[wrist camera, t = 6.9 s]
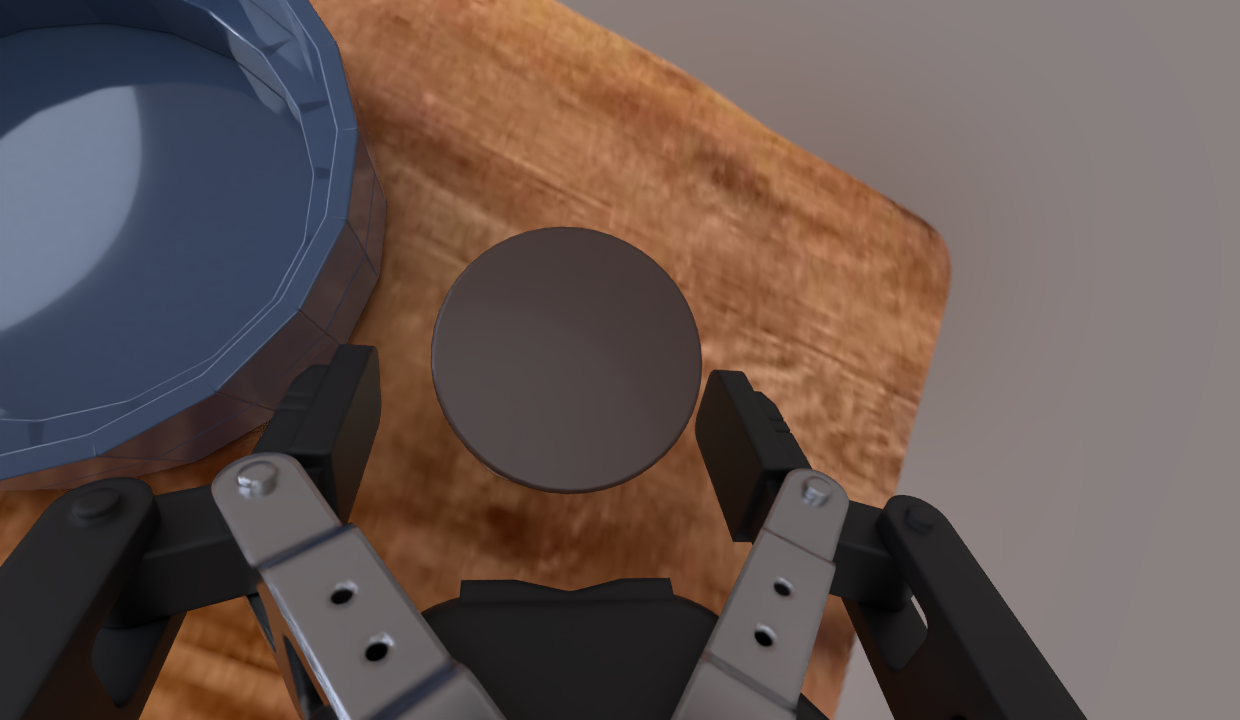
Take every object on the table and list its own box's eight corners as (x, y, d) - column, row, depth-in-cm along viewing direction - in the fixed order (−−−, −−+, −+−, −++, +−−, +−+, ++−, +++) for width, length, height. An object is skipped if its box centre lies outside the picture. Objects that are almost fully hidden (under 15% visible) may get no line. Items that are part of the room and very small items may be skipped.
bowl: (-312, 480, 16) (-714, 482, 11) (-133, -47, 19) (-368, -244, 14) (361, 491, 19) (312, 497, 14) (409, 44, 23) (385, -86, 18)
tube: (459, 483, 20) (417, 491, 9) (468, 356, 21) (442, 209, 9) (587, 485, 21) (705, 496, 9) (591, 363, 22) (702, 239, 10)
